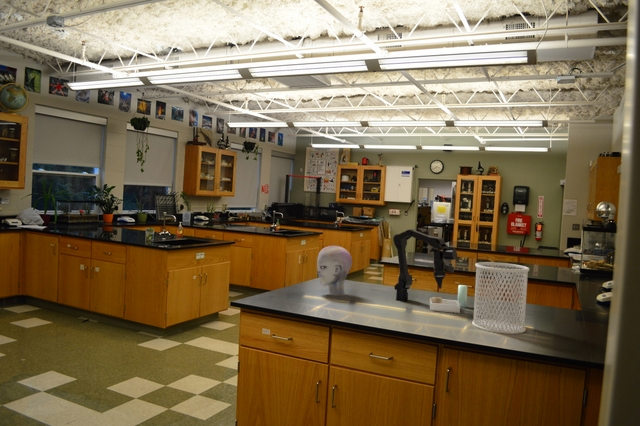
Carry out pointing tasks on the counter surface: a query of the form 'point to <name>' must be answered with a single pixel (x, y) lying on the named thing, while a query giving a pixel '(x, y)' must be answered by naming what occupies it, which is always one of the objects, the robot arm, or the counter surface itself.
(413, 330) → the counter surface
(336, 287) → the sculpture
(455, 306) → the tote
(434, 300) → the cube
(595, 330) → the counter surface
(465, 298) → the canister
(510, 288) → the wastebasket
